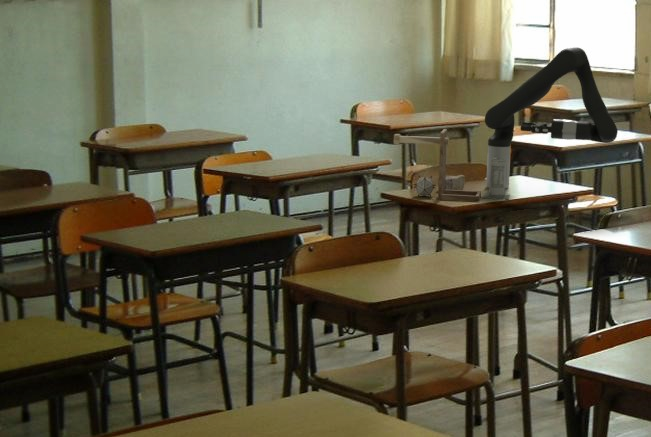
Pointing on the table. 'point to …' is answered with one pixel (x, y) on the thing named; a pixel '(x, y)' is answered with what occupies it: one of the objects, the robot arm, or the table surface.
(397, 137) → the key bar
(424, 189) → the game die
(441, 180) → the wooden gallows stand
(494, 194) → the energy drink can
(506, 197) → the mat
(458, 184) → the mineral specimen
